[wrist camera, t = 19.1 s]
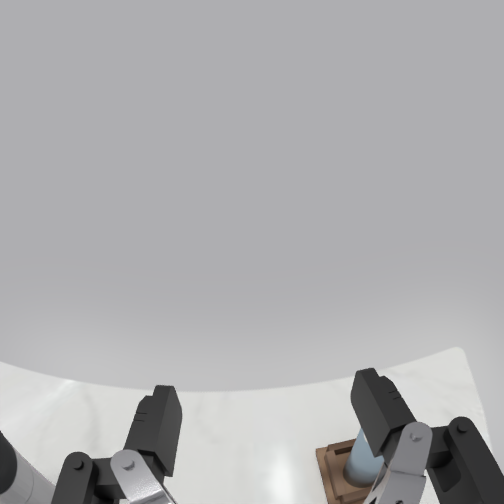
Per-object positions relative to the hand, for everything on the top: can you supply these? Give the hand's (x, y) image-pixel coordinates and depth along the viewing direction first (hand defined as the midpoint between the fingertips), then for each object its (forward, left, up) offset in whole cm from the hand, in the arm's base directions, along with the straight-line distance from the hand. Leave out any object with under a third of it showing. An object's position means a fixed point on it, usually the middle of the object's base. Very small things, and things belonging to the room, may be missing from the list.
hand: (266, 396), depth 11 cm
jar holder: (+15, -4, -30) cm, 34 cm away
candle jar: (+15, -4, -29) cm, 33 cm away
